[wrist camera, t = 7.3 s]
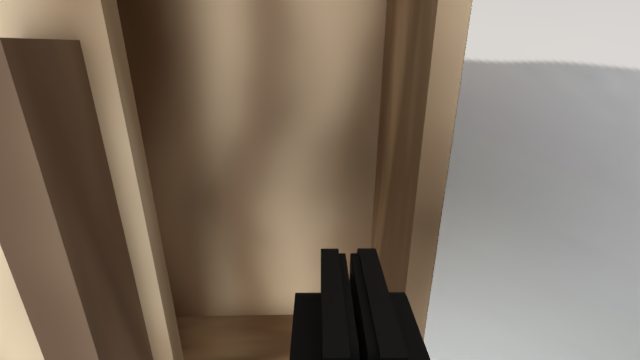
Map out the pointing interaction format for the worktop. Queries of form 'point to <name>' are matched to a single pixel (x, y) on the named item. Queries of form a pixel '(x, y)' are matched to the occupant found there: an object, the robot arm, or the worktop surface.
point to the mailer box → (291, 151)
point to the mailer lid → (76, 193)
